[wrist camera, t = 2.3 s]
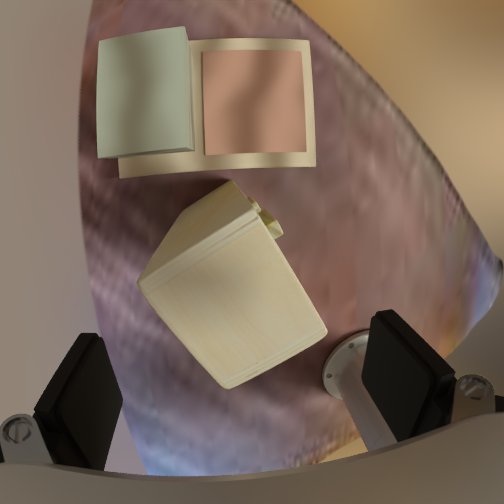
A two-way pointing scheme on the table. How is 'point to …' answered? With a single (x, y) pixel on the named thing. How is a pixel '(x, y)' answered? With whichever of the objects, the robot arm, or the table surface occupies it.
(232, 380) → the toy refrigerator
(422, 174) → the table surface
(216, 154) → the board
